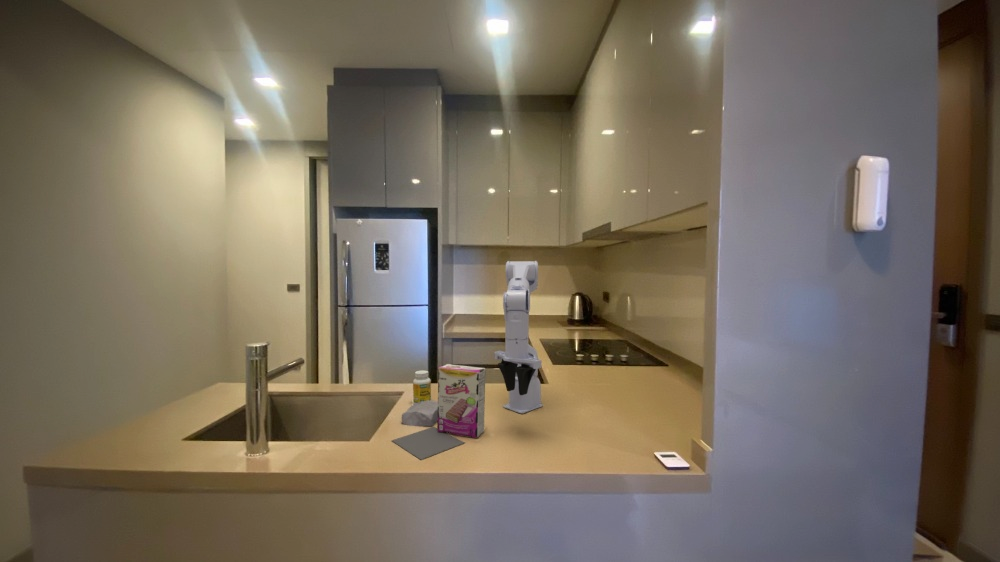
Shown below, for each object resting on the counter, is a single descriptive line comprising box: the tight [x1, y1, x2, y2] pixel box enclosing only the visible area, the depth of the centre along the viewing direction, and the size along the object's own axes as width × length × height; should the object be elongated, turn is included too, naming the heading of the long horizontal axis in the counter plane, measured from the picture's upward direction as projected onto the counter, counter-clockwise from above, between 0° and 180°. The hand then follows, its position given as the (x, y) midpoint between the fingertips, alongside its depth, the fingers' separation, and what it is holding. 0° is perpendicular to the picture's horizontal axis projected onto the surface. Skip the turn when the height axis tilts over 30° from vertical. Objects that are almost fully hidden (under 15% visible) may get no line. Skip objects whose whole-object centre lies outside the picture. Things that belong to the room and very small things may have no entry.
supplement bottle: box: [412, 370, 432, 405], centre depth 122 cm, size 5×5×10 cm
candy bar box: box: [436, 363, 486, 439], centre depth 100 cm, size 11×5×16 cm, turn 71°
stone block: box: [401, 399, 438, 428], centre depth 110 cm, size 12×5×10 cm
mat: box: [391, 426, 466, 461], centre depth 95 cm, size 12×13×1 cm
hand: (516, 392), depth 99 cm, fingers open, 4 cm apart
